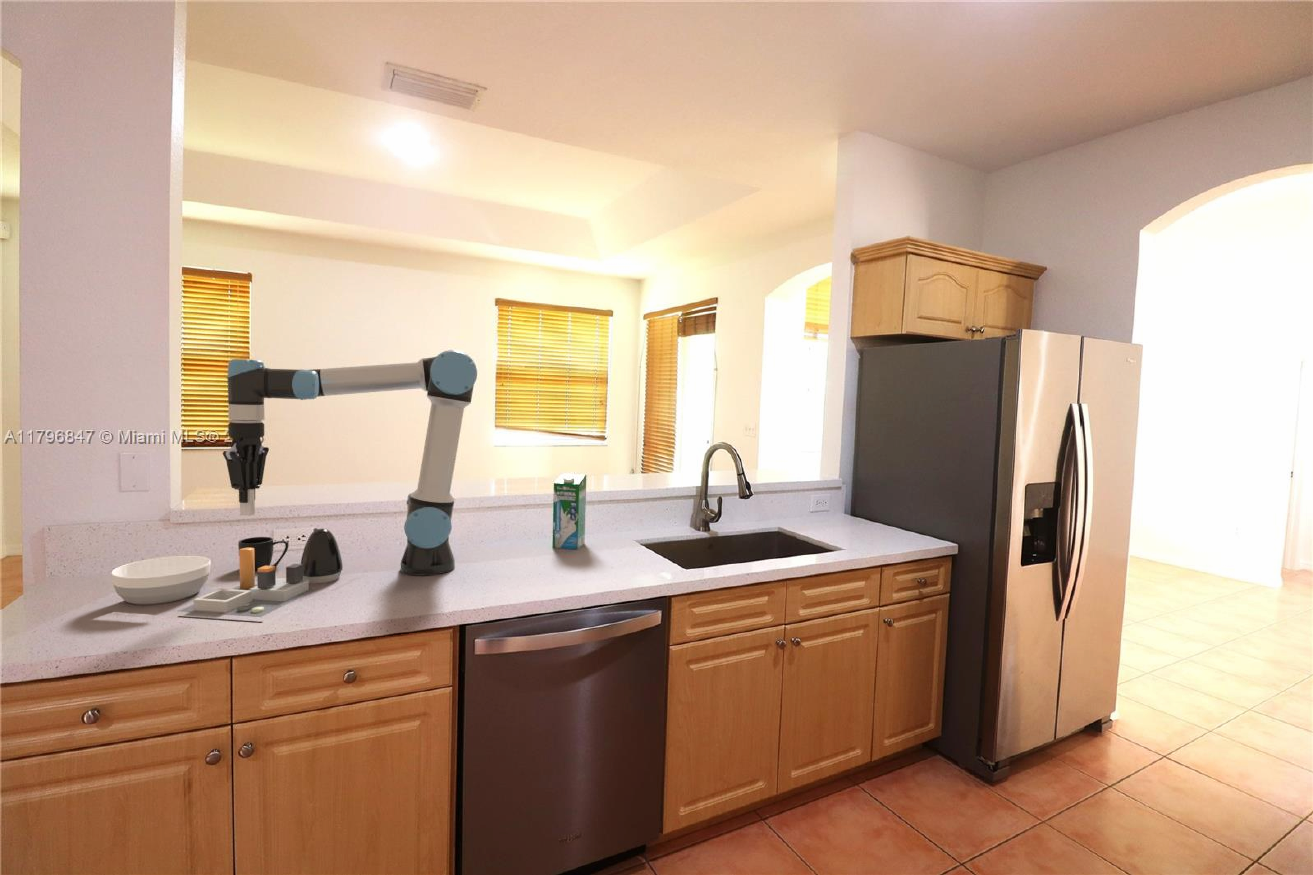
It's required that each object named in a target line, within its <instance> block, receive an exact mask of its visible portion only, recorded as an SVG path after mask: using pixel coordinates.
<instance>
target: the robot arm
mask: <svg viewBox="0 0 1313 875" xmlns="http://www.w3.org/2000/svg"><path fill="white" fill-rule="evenodd" d="M227 365H228V366H227V376H226V379H227V398H228V399H227V400H228V401H227V403H228V406H227V407H228V410H227V412H228V418H227V419H228V420H229V421H230V422H229V423H227V435H228V437H229V438H231V443H230V448H229V449H228V450H223V452H222V455H223V457H224V459H225V461H226V467H227V471H228V477H229V481H230V486H231V489H234V490H237V491H238V502H239V516H245V517H247V516H248V517H249V516H250V517H251V516H254V515H255V514H256V507H255V505H256V504H255V500H256V489H257V490H258V489H260V487H261V485H262V484H263V481H264V480H263V479H264V472H265V466H266V459H267V455H268V453H269V450H270V449H269V447H268V446H266V447H265V446H263V445H262V444H263V442H262V439H261V438H263V437H264V436H265V423H264V422H263V421H265V399H283V400H284V399H285V400H300V401H305V400H315V399H317V398H319V397H326V396H327V397H328V396H340V395H341V396H342V395H353V394H365V393H377V392H378V393H379V392H391V391H404V390H405V391H406V390H418V389H421V390H423V391H424V392H427V393H426V397H427V399H428V400H429V401H430V403H431V406H430V411H429V417H428V422H427V429H426V434H425V435H426V436H425V441H424V446H423V453H422V460H421V464H420V472H419V478H418V483H417V488H416V489H415V490H414V491H413V492H411V493H408V495H407V500H406V505H407V506H406V507H407V511H406V519H405V521H404V526H403V527H404V528H403V529H404V533H405V535H406V546H405V550H404V552H403V555H402V558H401V560H400V571H401V572H402V573H403V574H407V575H410V576H411V575H412V576H433V575H434V576H435V575H441V574H445V573H447V572H451V571H452V570H454V569H455V567H456V566H455V556H454V554H453V551H452V548H451V545H450V542H449V539H450V535H451V531H452V527H453V526H452V518H453V510H454V503H455V498H454V497H453V495H452V494H451V489H452V482H453V477H454V471H455V466H456V458H457V453H458V447H459V440H460V435H461V429H462V423H463V417H464V411H465V408H466V407H468V406H469V405H470V404H471V402H472V398H473V393H474V387H475V384H476V381H477V378H478V369H477V366H476V363H475V362H474V360H473V359H472V357H470V355H468V354H466V353H465V352H463V351H461V350H454V349H449V350H445V351H442V352H440V353H438V354H437V355H436V356H432V357H423V358H420V359H419V360H418V361H414V362H403V363H402V362H400V363H389V364H388V363H386V364H385V363H384V364H374V365H373V364H372V365H362V366H361V365H360V366H346V367H345V366H344V367H343V366H342V367H331V368H330V367H329V368H328V367H327V368H319V369H318V368H317V369H316V368H315V369H301V368H300V369H296V368H295V369H293V368H291V369H290V368H289V369H288V368H285V369H284V368H268V367H266V366H265V363H264V361H263V360H261V359H247V358H246V359H245V358H243V359H241V358H233V359H230V360H229V361H228V363H227Z"/></svg>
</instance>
